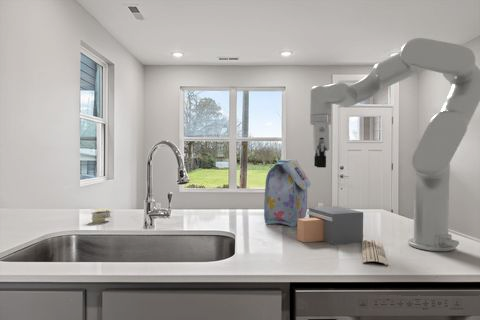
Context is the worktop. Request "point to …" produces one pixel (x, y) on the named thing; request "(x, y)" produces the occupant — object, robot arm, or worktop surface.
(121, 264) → the worktop surface
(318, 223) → the orange rectangular block
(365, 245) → the newspaper
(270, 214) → the lunch bag
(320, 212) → the grey box
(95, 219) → the pale yellow grooved block
